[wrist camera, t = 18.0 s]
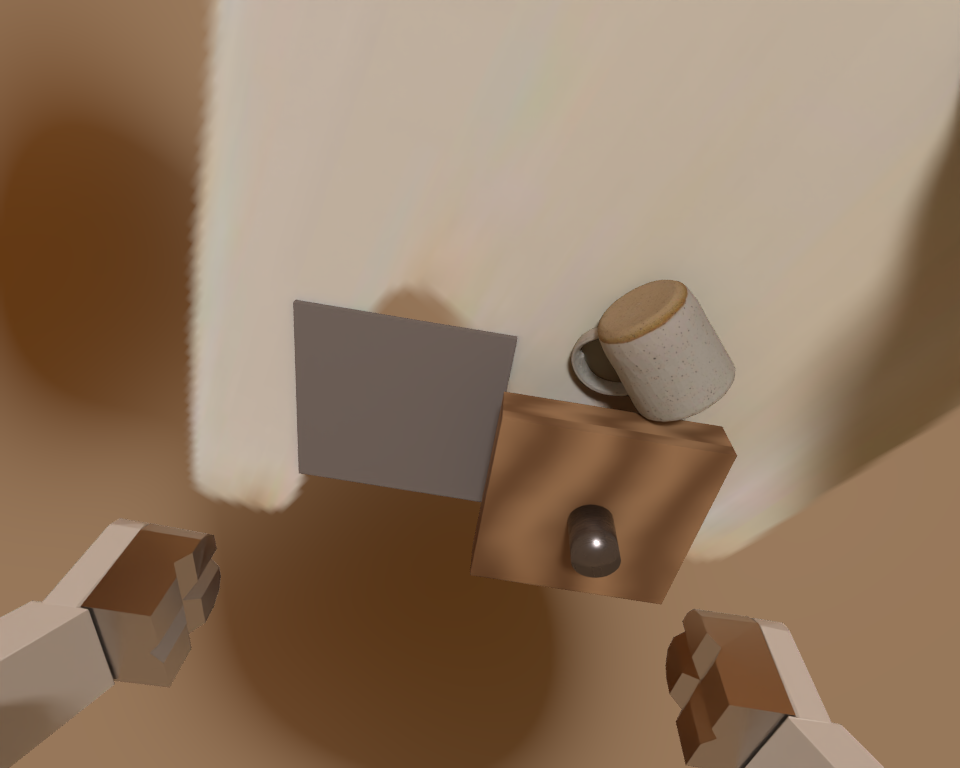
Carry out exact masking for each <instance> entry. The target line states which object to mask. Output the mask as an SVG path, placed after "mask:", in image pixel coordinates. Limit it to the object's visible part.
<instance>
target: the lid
mask: <svg viewBox="0 0 960 768" xmlns="http://www.w3.org/2000/svg"><path fill="white" fill-rule="evenodd" d="M736 457H737V455H736V453H735V451H734V449H733V447H732V445H731V443H730V441H729V439H728V437H727V435H726V433H725V431H724V429H723V427H721V426H715V425H709V424H702V423H696V422H690V421H684V420H676V421H666V422H661V421H653V420H649V419H647V418H645V417H644V416H642V415H641V414H640V413H634V412H628V411H621V410H615V409H609V408H603V407H596V406H590V405H584V404H578V403H572V402H565V401H559V400H553V399H547V398H540V397H534V396H528V395H522V394H516V393H509V392H504V394H503V399H502V404H501V409H500V414H499V419H498V424H497V429H496V433H495V438H494V443H493V448H492V453H491V458H490V463H489V468H488V473H487V478H486V483H485V487H484V492H483V497H482V502H481V507H480V512H479V517H478V522H477V527H476V532H475V537H474V542H473V549H472V559H471V570H470V575H473V576H479V577H487V578H493V579H499V580H505V581H512V582H518V583H525V584H532V585H538V586H545V587H551V588H558V589H565V590H571V591H578V592H584V593H591V594H597V595H604V596H610V597H616V598H623V599H630V600H636V601H642V602H650V603H656V604H662V602H663V600H664V598H665V596H666V594H667V592H668V590H669V588H670V586H671V584H672V582H673V580H674V578H675V576H676V574H677V572H678V571H679V569H680V567H681V565H682V563H683V561H684V559H685V557H686V555H687V553H688V551H689V549H690V547H691V545H692V543H693V541H694V539H695V537H696V535H697V533H698V531H699V529H700V527H701V525H702V523H703V521H704V519H705V518H706V516H707V514H708V512H709V510H710V508H711V506H712V504H713V502H714V500H715V498H716V496H717V494H718V492H719V490H720V488H721V486H722V484H723V482H724V480H725V478H726V476H727V474H728V472H729V470H730V468H731V466H732V464H733V462H734V461H735V459H736Z"/></svg>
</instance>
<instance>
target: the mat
mask: <svg viewBox="0 0 960 768" xmlns="http://www.w3.org/2000/svg"><path fill="white" fill-rule="evenodd" d="M293 308H294V339H295V370H296V401H297V432H298V462H299V473H302V474H308V475H315V476H322V477H328V478H334V479H340V480H346V481H352V482H359V483H365V484H371V485H377V486H384V487H391V488H396V489H403V490H409V491H415V492H421V493H428V494H434V495H440V496H447V497H453V498H459V499H466V500H472V501H479V502H482V497H483V492H484V487H485V483H486V478H487V473H488V468H489V463H490V458H491V453H492V448H493V443H494V438H495V433H496V429H497V424H498V419H499V414H500V409H501V404H502V399H503V394H504V392H506V390H507V385H508V380H509V376H510V371H511V366H512V361H513V356H514V352H515V347H516V342H517V337H516V336H510V335H504V334H498V333H492V332H486V331H480V330H474V329H468V328H462V327H456V326H450V325H444V324H437V323H431V322H425V321H419V320H413V319H408V318H401V317H396V316H390V315H383V314H377V313H371V312H365V311H359V310H353V309H347V308H341V307H335V306H329V305H323V304H317V303H311V302H305V301H299V300H295V301H294V302H293Z"/></svg>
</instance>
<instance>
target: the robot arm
mask: <svg viewBox="0 0 960 768" xmlns="http://www.w3.org/2000/svg"><path fill="white" fill-rule="evenodd" d="M216 549H217V548H216V543H215V538H214V535H210V534H205V533H200V532H194V531H189V530H184V529H178V528H173V527H167V526H162V525H156V524H151V523H145V522H139V521H133V520H127V519H121V518H120V519H118V520H116V521H115V522H113V523H111V524H110V525H108V526H107V528H106V529H105V530H104V531H103V532H102V533H101V535H100V536H99V537H98V538H97V539H96V540H95V542H94V543H93V544H92V545H91V546H90V547H89V548H88V550H87V551H86V552H85V553H84V554H83V555H82V556H81V558H80V559H79V560H78V561H77V562H76V563H75V565H74V566H73V567H72V568H71V569H70V570H69V572H68V573H67V574H66V575H65V576H64V577H63V578H62V580H61V581H60V582H59V583H58V584H57V585H56V587H55V588H54V589H53V590H52V591H51V592H50V594H49V595H48V596H47V597H46V598H45V599H44V600H43V602H41V601H31V602H29V603H27V604H25V605H23V606H21V607H19V608H17V609H15V610H13V611H12V612H10V613H8V614H6V615H4V616H2V617H0V768H9V767H11V766H12V765H13V764H15V763H16V762H17V761H18V760H20V759H21V758H22V757H23V756H25V755H26V754H27V753H29V752H30V751H31V750H32V749H34V748H35V747H36V746H37V745H39V744H40V743H41V742H42V741H44V740H45V739H46V738H47V737H49V736H50V735H51V734H53V733H54V732H55V731H56V730H58V729H59V728H60V727H61V726H63V725H64V724H65V723H66V722H68V721H69V720H70V719H72V718H73V717H74V716H75V715H76V714H78V713H79V712H80V711H82V710H83V709H84V708H85V707H87V706H88V705H89V704H90V703H92V702H93V701H94V700H95V699H97V698H98V697H99V696H100V695H102V694H103V693H104V692H106V691H107V690H108V689H109V688H111V687H112V686H113V685H114V684H115V682H114V681H121V682H129V683H138V684H145V685H154V686H162V687H170V686H171V684H172V682H173V680H174V679H175V677H176V675H177V673H178V671H179V670H180V668H181V666H182V664H183V663H184V661H185V659H186V657H187V655H188V653H189V652H190V650H191V642H190V637H189V634H190V633H191V632H193V631H194V630H195V629H197V628H199V627H200V626H201V625H203V624H204V623H205V622H206V621H207V619H208V617H209V615H210V613H211V611H212V609H213V607H214V604H215V601H216V598H217V595H218V592H219V588H220V578H221V575H220V568H219V566H218V565H217V564H216V563H215V562H214V561H213V560H212V559H211V558H212V556H213V554H214V552H215V551H216ZM683 625H684V629H685V632H683V633H681V634H679V635H677V636H675V637H673V640H672V642H671V644H670V646H669V648H668V651H667V658H666V679H667V684H668V689H669V693H670V695H671V696H672V698H673V699H674V700H675V701H676V703H677V704H678V705H679V706H680V708H681V709H682V710H681V712H680V714H679V716H678V718H677V720H676V725H677V729H678V734H679V737H680V742H681V746H682V751H683V755H684V759H685V764H686V765H688V766H693V767H699V768H884V767H883V766H882V765H881V764H880V763H879V762H878V761H877V760H876V759H875V758H874V757H873V756H872V755H871V754H870V753H869V752H868V751H867V750H866V749H865V748H864V747H863V746H862V745H861V744H860V743H859V742H858V741H857V740H856V739H855V738H854V737H853V736H852V735H851V734H850V733H849V732H848V731H847V730H846V729H845V728H844V727H843V726H842V725H841V724H837V723H832V722H831V720H830V719H829V716H828V714H827V712H826V709H825V707H824V706H823V703H822V701H821V699H820V696H819V694H818V692H817V690H816V688H815V685H814V683H813V681H812V679H811V677H810V675H809V672H808V670H807V668H806V666H805V664H804V662H803V659H802V657H801V655H800V653H799V651H798V648H797V646H796V644H795V642H794V640H793V637H792V635H791V633H790V631H789V629H788V628H787V627H786V626H785V625H784V624H783V623H781V622H775V621H769V620H762V619H755V618H749V617H747V616H740V615H733V614H726V613H718V612H712V611H704V610H698V609H693V610H691V611H689V612H688V613H687V615H686V616H685V618H684V620H683Z"/></svg>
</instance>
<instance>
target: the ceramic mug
mask: <svg viewBox="0 0 960 768" xmlns="http://www.w3.org/2000/svg"><path fill="white" fill-rule="evenodd" d="M596 339H599V340H600V343H601V346H602V348H603V351H604V353H605V354H606V356H607V358H608V360H609V361H610V363H611V364H612V366H613V368H614V369H615V371H616V373H617V374H618V376H619V378H620V380H621V382H612V381H607V380H604V379H602V378H600V377H597V376H596V375H595V374H594V373H592V372H591V370H590V369H589V367H588V365H587V363H586V361H585V358H584V353H583V352H582V351H581V347H582V346H583V345H585V344H587V343H588V342H590V341H594V340H596ZM571 363H572V367H573V370H574V372H575V374H576V375H577V377H578V378H579V380H580V381H581V382H582V383H583V384H584V385H585V386H587V387H588V388H590V389H592V390H594V391H596V392H599V393H602V394H606V395H612V396H628V395H629V396H630V398H631V400H632V402H633V404H634V406H635V407H636V409H637V410H638V412H639V413H640V414H641V415H642V416H644V417H645V418H647V419H649V420H653V421H661V422H666V421H676V420H681V419H684V418H687V417H690V416H693V415H696V414H698V413H700V412H702V411H704V410H705V409H707V408H709V407H710V406H712V405H713V404H714V403H716V402H717V401H718V400H720V399H721V398H722V397H723V396H724V395H725V394H726V392H727V391H728V389H729V388H730V387H731V385H732V383H733V381H734V377H735V367H734V364H733V362H732V360H731V358H730V357H729V355H728V353H727V352H726V350H725V348H724V346H723V345H722V343H721V341H720V339H719V338H718V336H717V334H716V332H715V330H714V329H713V327H712V325H711V324H710V322H709V320H708V319H707V317H706V315H705V313H704V311H703V309H702V307H701V306H700V304H699V302H698V300H697V299H696V297H695V296H694V295H693V294H692V293H691V291H690V290H689V289H688V288H687V287H686V286H685V285H684V284H683V283H681V282H679V281H673V280H659V281H654V282H650V283H647V284H645V285H642V286H640V287H638V288H635V289H634V290H632V291H630V292H628V293H627V294H625V295H624V296H622V297H621V298H619V299H618V300H617V301H615V302H614V303H613V304H612V305H611V306H610V307H609V308H608V309H607V310H606V312H605V313H604V314H603V316H602V318H601V320H600V322H599V325H598V327H596V328H593V329H591V330H589V331H587V332H586V333H584V334H583V335H582V336H581V337H580V338H579V339H578V341H577V342H576V344H575V346H574V348H573V351H572V356H571Z"/></svg>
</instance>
